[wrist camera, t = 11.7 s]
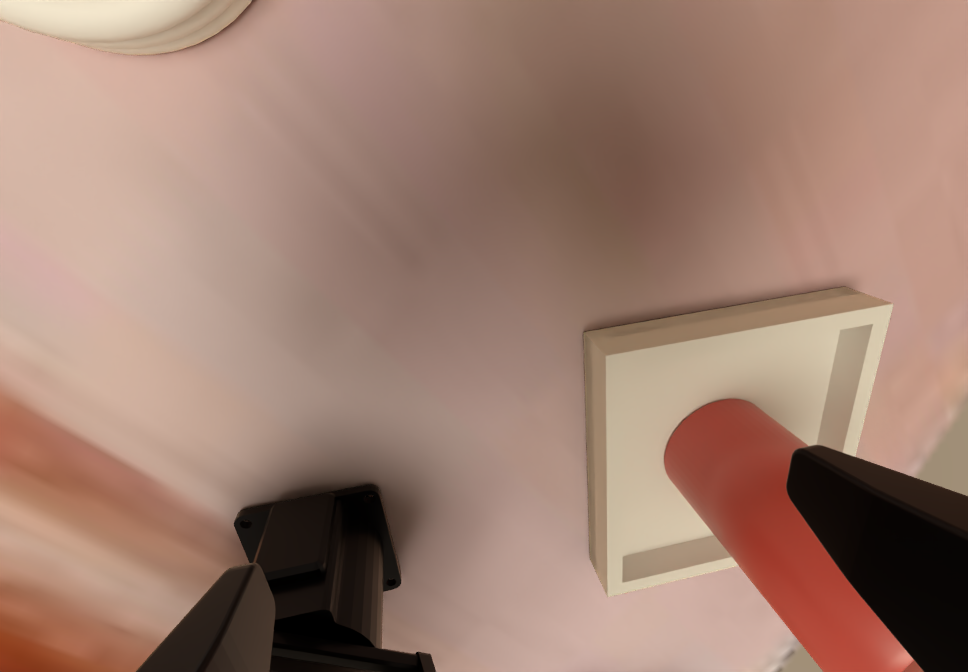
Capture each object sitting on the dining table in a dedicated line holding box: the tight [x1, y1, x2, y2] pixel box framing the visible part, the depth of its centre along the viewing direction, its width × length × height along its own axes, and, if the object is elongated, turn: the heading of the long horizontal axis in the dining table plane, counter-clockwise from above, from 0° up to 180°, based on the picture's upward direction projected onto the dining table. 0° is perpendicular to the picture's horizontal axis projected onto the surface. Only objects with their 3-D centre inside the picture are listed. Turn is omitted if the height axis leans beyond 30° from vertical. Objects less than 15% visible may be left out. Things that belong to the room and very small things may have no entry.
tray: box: [584, 287, 893, 597], centre depth 24 cm, size 14×13×2 cm
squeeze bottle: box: [664, 399, 924, 672], centre depth 18 cm, size 6×6×15 cm
